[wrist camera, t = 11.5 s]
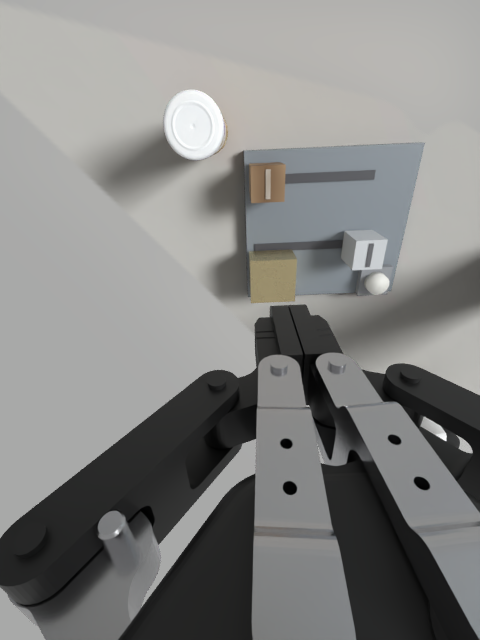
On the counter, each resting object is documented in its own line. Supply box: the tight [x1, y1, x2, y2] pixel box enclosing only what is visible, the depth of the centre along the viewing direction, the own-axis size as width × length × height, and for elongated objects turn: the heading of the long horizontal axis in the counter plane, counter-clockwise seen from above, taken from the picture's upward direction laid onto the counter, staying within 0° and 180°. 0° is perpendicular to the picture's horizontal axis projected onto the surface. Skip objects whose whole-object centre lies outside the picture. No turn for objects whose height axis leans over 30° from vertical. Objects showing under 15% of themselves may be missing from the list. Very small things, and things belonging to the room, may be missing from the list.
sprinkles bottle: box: [163, 90, 228, 160], centre depth 29 cm, size 5×5×14 cm
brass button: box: [249, 249, 297, 303], centre depth 39 cm, size 6×6×4 cm
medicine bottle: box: [421, 417, 460, 448], centre depth 49 cm, size 7×7×12 cm
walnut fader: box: [249, 162, 286, 203], centre depth 33 cm, size 4×4×5 cm
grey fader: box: [341, 230, 388, 270], centre depth 37 cm, size 4×4×5 cm
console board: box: [244, 143, 425, 297], centre depth 38 cm, size 20×18×5 cm
